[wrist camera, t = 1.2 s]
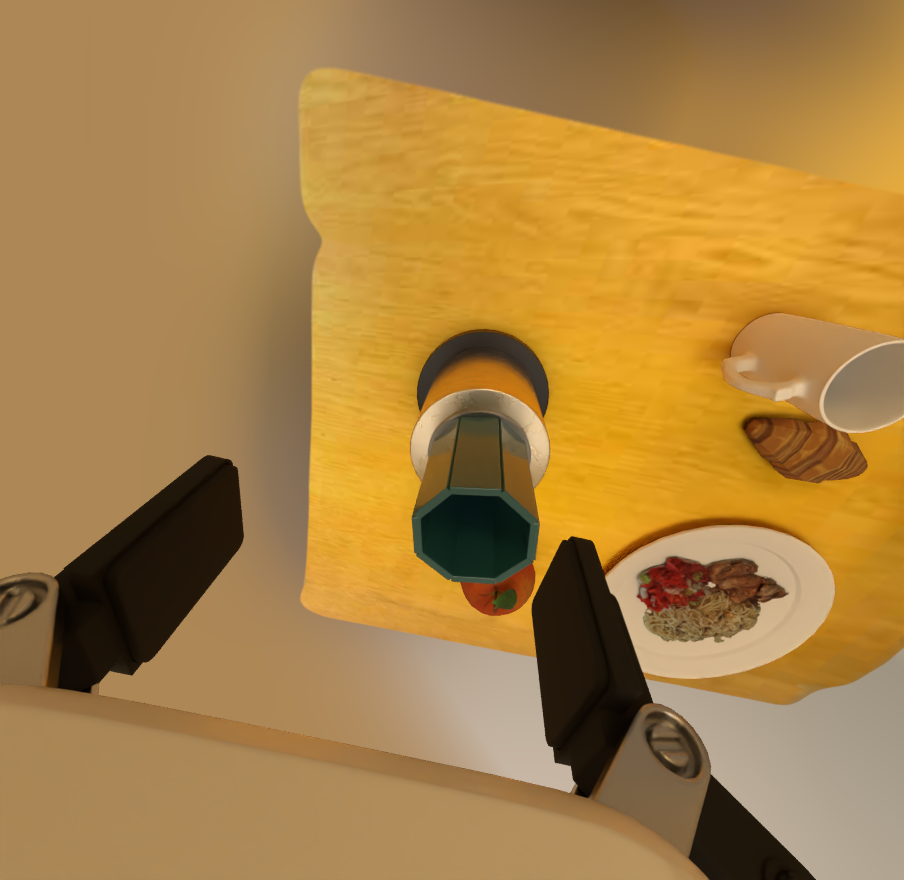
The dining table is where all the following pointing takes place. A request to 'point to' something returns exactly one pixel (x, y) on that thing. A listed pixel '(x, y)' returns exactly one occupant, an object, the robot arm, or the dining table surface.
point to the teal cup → (476, 503)
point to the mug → (821, 370)
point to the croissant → (806, 449)
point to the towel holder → (483, 393)
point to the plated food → (720, 599)
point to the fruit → (501, 593)
